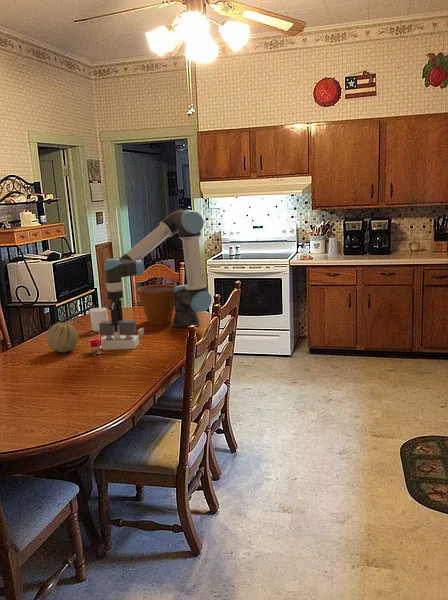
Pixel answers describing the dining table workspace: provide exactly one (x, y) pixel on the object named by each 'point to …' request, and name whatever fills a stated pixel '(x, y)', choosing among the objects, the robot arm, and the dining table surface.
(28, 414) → the dining table surface
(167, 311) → the flower pot
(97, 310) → the white cylinder
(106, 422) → the dining table surface
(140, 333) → the wooden rests
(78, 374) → the dining table surface
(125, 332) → the peg strip
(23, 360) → the dining table surface
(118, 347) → the hole board
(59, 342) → the cantaloupe
